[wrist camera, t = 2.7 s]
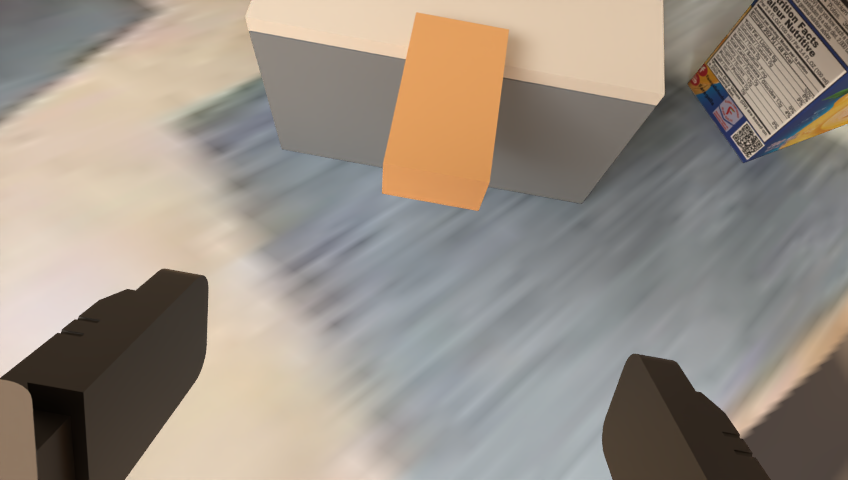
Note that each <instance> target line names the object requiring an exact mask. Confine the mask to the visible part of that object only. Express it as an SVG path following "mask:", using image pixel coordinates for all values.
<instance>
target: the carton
mask: <svg viewBox="0 0 848 480" xmlns="http://www.w3.org/2000/svg"><path fill="white" fill-rule="evenodd" d="M249 33H250V37H251V40H252V44H253V48H254V51H255V55H256V58H257V62H258V65H259V69H260V73H261V76H262V80H263V83H264V87H265V91H266V94H267V98H268V101H269V105H270V109H271V112H272V116H273V119H274V123H275V127H276V130H277V134H278V137H279V141H280V144H281V148H282V149H284V150H289V151H295V152H300V153H306V154H311V155H317V156H322V157H328V158H333V159H339V160H344V161H350V162H355V163H361V164H366V165H372V166H377V167H383V161H384V157H385V152H386V148H387V143H388V139H389V134H390V129H391V125H392V120H393V116H394V111H395V107H396V102H397V97H398V93H399V88H400V84H401V79H402V75H403V70H404V65H405V61H406V59H402V58H396V57H391V56H385V55H380V54H374V53H369V52H364V51H358V50H353V49H347V48H342V47H337V46H331V45H326V44H320V43H315V42H309V41H304V40H299V39H293V38H288V37H282V36H277V35H272V34H266V33H261V32H255V31H249ZM654 108H655V105H651V104H645V103H640V102H634V101H629V100H623V99H618V98H613V97H607V96H602V95H596V94H591V93H586V92H580V91H575V90H569V89H564V88H559V87H553V86H548V85H542V84H537V83H531V82H526V81H521V80H515V79H510V78H504V77H503V82H502V90H501V97H500V105H499V113H498V121H497V129H496V137H495V144H494V152H493V160H492V168H491V176H490V183H489V185H488V187H493V188H498V189H504V190H509V191H515V192H520V193H526V194H531V195H537V196H542V197H548V198H553V199H559V200H564V201H570V202H575V203H581V204H582V202H583V201H584V200H585V198H586V197H587V196H588V195H589V193H590V192H591V191H592V189H593V188H594V187H595V185H596V184H597V183H598V181H599V180H600V179H601V177H602V176H603V175H604V174H605V172H606V171H607V170H608V168H609V167H610V166H611V164H612V163H613V162H614V160H615V159H616V158H617V157H618V155H619V154H620V153H621V151H622V150H623V149H624V147H625V146H626V145H627V143H628V142H629V141H630V139H631V138H632V137H633V136H634V134H635V133H636V132H637V130H638V129H639V128H640V126H641V125H642V124H643V122H644V121H645V120H646V119H647V117H648V116H649V115H650V113H651V112H652V111H653V109H654Z"/></svg>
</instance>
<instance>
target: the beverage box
mask: <svg viewBox="0 0 848 480" xmlns="http://www.w3.org/2000/svg"><path fill="white" fill-rule="evenodd" d="M688 86H689V87H690V89H691V90H692V92H693V93H694V94H695V96H696V97H697V99H698V100H699V101H700V103H701V104H702V106H703V107H704V109H705V110H706V111H707V113H708V114H709V116H710V117H711V118H712V120H713V121H714V123H715V124H716V126H717V127H718V128H719V130H720V131H721V133H722V134H723V135H724V137H725V138H726V140H727V141H728V143H729V144H730V145H731V147H732V148H733V150H734V151H735V152H736V154H737V155H738V157H739V158H740V160H741V161H742V162H743V163H745V162H748V161H750V160H753V159H756V158H758V157H761V156H763V155H766V154H769V153H771V152H774V151H777V150H779V149H782V148H785V147H787V146H790V145H793V144H795V143H798V142H800V141H803V140H806V139H808V138H811V137H814V136H816V135H819V134H822V133H824V132H827V131H830V130H832V129H835V128H837V127H840V126H843V125H845V124H848V0H754V2H753V3H752V4H751V5H750V7H749V8H748V9H747V10H746V12H745V13H744V14H743V15H742V17H741V18H740V19H739V20H738V22H737V23H736V24H735V25H734V27H733V28H732V29H731V30H730V32H729V33H728V34H727V35H726V37H725V38H724V39H723V40H722V42H721V43H720V44H719V45H718V47H717V48H716V49H715V50H714V52H713V53H712V54H711V55H710V57H709V58H708V59H707V60H706V62H705V63H704V64H703V65H702V67H701V68H700V69H699V70H698V72H697V73H696V74H695V75H694V77H693V78H692V79H691V80H690V82H689V83H688Z"/></svg>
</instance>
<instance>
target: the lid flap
mask: <svg viewBox="0 0 848 480" xmlns="http://www.w3.org/2000/svg"><path fill="white" fill-rule="evenodd" d="M245 19H246V22H247V26H248V30H250V31H255V32H261V33H266V34H272V35H277V36H282V37H288V38H293V39H299V40H304V41H309V42H315V43H320V44H326V45H331V46H337V47H342V48H347V49H353V50H358V51H364V52H369V53H374V54H380V55H385V56H391V57H396V58H402V59H406V61H405V65H404V70H403V75H402V79H401V84H400V88H399V93H398V97H397V102H396V107H395V111H394V116H393V120H392V125H391V129H390V134H389V139H388V143H387V148H386V152H385V157H384V161H383V182H382V194H388V195H393V196H399V197H404V198H410V199H415V200H421V201H426V202H432V203H437V204H443V205H449V206H454V207H460V208H465V209H471V210H476V211H479V208H480V206H481V203H482V201H483V198H484V196H485V193H486V190H487V188H488V185H489V183H490V176H491V168H492V160H493V152H494V144H495V137H496V129H497V121H498V113H499V105H500V97H501V90H502V82H503V77H504V78H510V79H515V80H521V81H526V82H531V83H537V84H542V85H548V86H553V87H559V88H564V89H569V90H575V91H580V92H586V93H591V94H596V95H602V96H607V97H613V98H618V99H623V100H629V101H634V102H640V103H645V104H651V105H657V104H658V103H659V101H660V100H661V99H662V98H663V96H664V95H665V85H664V24H663V0H251V3H250V5H249V8H248V11H247V13H246V16H245Z"/></svg>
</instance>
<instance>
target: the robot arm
mask: <svg viewBox="0 0 848 480" xmlns="http://www.w3.org/2000/svg"><path fill="white" fill-rule="evenodd" d="M207 316H208V281H207V279H206V277H205V276H203V275H198V274H192V273H186V272H181V271H175V270H170V269H161V270H160V271H158V272H157V273H156V274H155V275H153V276H152V277H151V278H150V279H149V280H148V281H146V282H145V283H144V284H143V285H142V286H140V287H139V288H138V289H137V290H136V291H135V290H130V289H126V290H124V291H121V292H119V293H116V294H114V295H111V296H109V297H106V298H104V299H101V300H99V301H98V302H96V303H95V304H94V305H92V306H91V307H90V308H89V309H87V310H86V311H85V312H84V313H82V314H81V315H80V316H79V318H78V320H73V321H72V322H71V323H70V324H68V325H67V326H66V327H64V328H63V329H62V332H61V334H60V333H57V334H56V335H54V336H53V337H52V338H50V339H49V340H48V341H47V342H45V343H44V344H43V345H42V346H40V347H39V348H38V349H37V350H35V351H34V352H33V353H31V354H30V355H29V356H28V357H26V358H25V359H24V360H23V361H21V362H20V363H19V364H17V365H16V366H15V367H14V368H12V369H11V370H10V371H9V372H7V373H6V374H5V375H3V376H2V377H1V378H0V480H125V479H126V477H127V476H128V474H129V473H130V472H131V470H132V469H133V467H134V466H135V465H136V463H137V462H138V461H139V459H140V458H141V456H142V455H143V454H144V452H145V451H146V449H147V448H148V447H149V445H150V444H151V442H152V441H153V440H154V438H155V437H156V436H157V434H158V433H159V431H160V430H161V429H162V427H163V426H164V424H165V423H166V422H167V420H168V419H169V417H170V416H171V415H172V413H173V412H174V411H175V409H176V408H177V406H178V405H179V404H180V402H181V401H182V399H183V398H184V397H185V395H186V394H187V392H188V391H189V390H190V388H191V387H192V385H193V384H194V383H195V381H196V380H197V378H198V376H199V374H200V372H201V369H202V366H203V363H204V359H205V355H206V346H207ZM739 436H740V434H739V433H738V431H737V430H736V428H735V427H734V425H733V424H732V423H731V421H730V420H729V418H728V417H727V415H726V414H725V413H724V412H723V411H722V410H721V409H720V408H719V407H717V406H716V405H715V404H714V403H713V402H712V401H711V400H709V399H708V398H707V397H706V396H705V395H704V394H702V393H701V392H696V391H695V389H694V388H693V386H692V385H691V383H690V382H689V380H688V379H687V377H686V375H685V374H684V372H683V371H682V369H681V368H680V366H679V365H678V363H677V362H675V361H673V360H667V359H662V358H656V357H651V356H645V355H639V354H632V355H631V356H630V357H629V358H628V359H627V361H626V363H625V365H624V368H623V371H622V374H621V376H620V379H619V382H618V385H617V387H616V390H615V393H614V396H613V398H612V401H611V404H610V407H609V409H608V412H607V415H606V418H605V421H604V425H603V433H602V445H603V452H604V456H605V459H606V461H607V464H608V467H609V470H610V473H611V476H612V479H613V480H771V479H770V478H769V477H768V475H767V474H766V472H765V471H764V469H763V468H762V466H761V465H760V464H759V462H758V461H757V459H756V458H754V457H752V452H751V450H750V449H749V447H748V446H747V445H746V443H745V442H744V440H743V439H740V438H739Z"/></svg>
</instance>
